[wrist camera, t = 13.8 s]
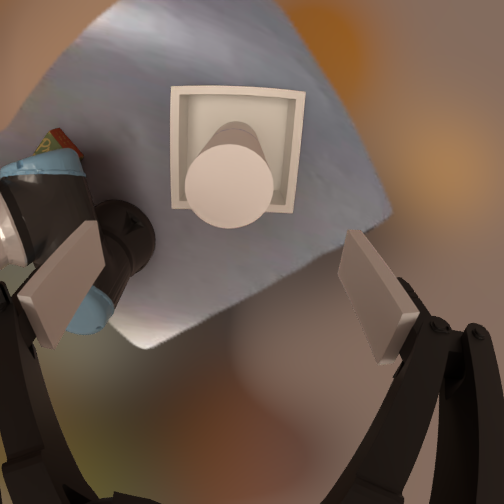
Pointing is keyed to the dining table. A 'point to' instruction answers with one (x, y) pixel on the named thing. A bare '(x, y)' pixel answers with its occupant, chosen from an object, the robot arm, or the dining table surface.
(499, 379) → the robot arm
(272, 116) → the beige bin
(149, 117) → the dining table surface
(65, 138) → the carton
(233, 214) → the cylindrical container
